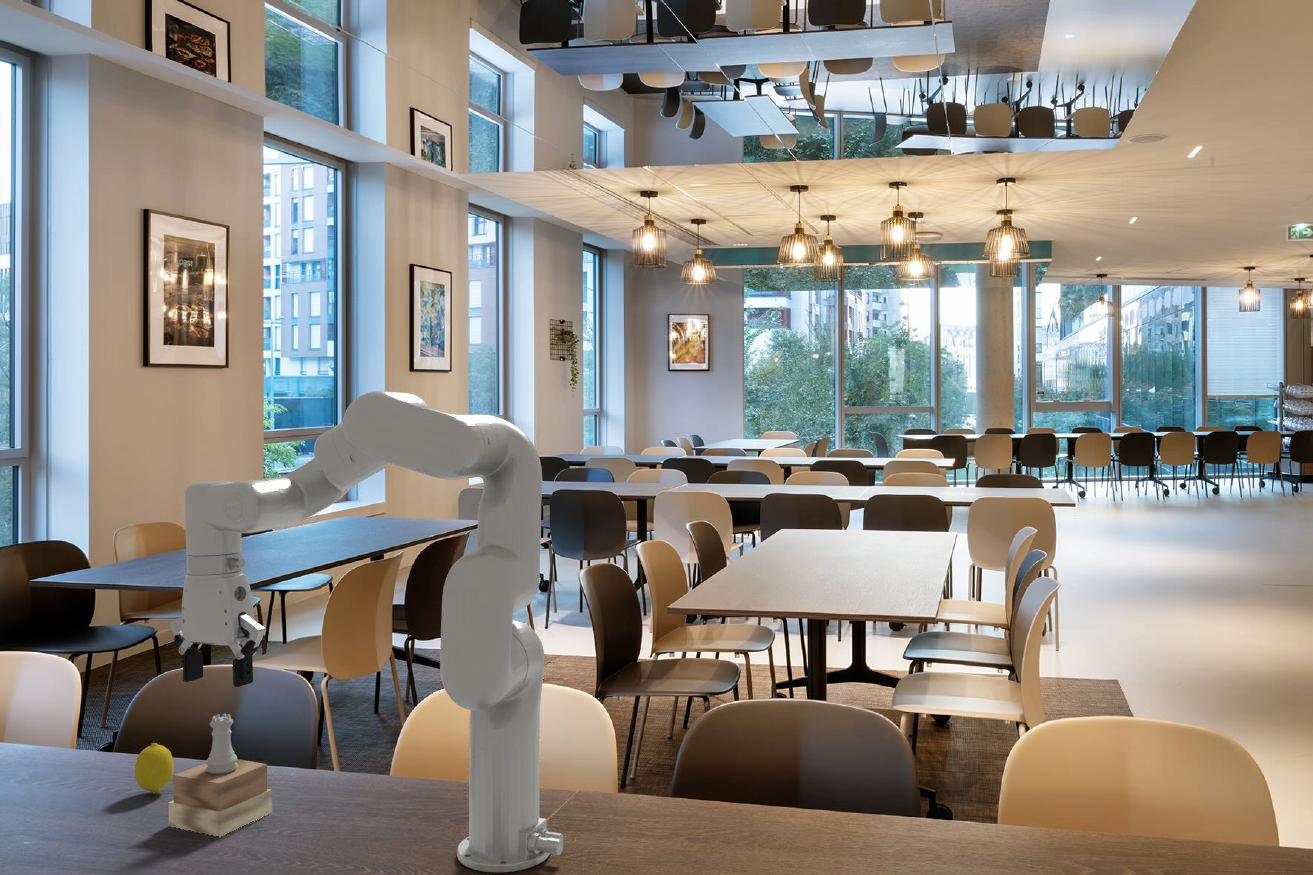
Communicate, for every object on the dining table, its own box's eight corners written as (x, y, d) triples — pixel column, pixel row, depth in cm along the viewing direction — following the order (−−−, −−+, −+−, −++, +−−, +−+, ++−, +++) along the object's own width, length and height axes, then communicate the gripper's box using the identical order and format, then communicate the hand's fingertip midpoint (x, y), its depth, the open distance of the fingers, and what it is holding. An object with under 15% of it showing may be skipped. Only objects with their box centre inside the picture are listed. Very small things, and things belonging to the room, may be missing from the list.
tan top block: (267, 790, 155) (266, 764, 155) (219, 811, 147) (219, 783, 147) (222, 782, 159) (222, 756, 159) (173, 802, 151) (173, 774, 151)
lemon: (135, 790, 165) (135, 740, 165) (173, 785, 168) (173, 736, 167) (134, 802, 160) (134, 750, 160) (173, 796, 163) (173, 745, 162)
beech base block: (272, 815, 156) (272, 789, 156) (220, 840, 147) (220, 812, 147) (222, 806, 160) (222, 780, 160) (168, 829, 151) (168, 802, 151)
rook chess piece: (244, 765, 155) (243, 712, 154) (227, 776, 150) (227, 721, 150) (216, 764, 155) (215, 711, 155) (199, 774, 151) (198, 720, 151)
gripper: (279, 564, 152) (282, 680, 152) (191, 560, 159) (194, 672, 159) (240, 571, 145) (243, 693, 145) (150, 567, 152) (153, 683, 152)
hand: (218, 682), depth 152 cm, fingers open, 9 cm apart
